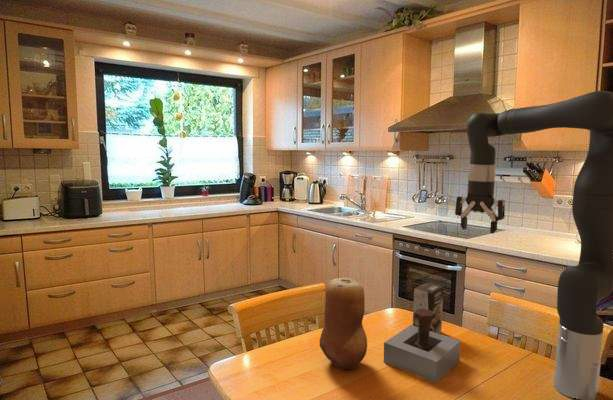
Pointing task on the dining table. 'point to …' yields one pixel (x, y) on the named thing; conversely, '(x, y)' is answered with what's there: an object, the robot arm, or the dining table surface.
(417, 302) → the coffee box
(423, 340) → the bolt
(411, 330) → the socket block
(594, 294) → the robot arm
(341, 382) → the dining table surface
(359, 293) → the butternut squash
